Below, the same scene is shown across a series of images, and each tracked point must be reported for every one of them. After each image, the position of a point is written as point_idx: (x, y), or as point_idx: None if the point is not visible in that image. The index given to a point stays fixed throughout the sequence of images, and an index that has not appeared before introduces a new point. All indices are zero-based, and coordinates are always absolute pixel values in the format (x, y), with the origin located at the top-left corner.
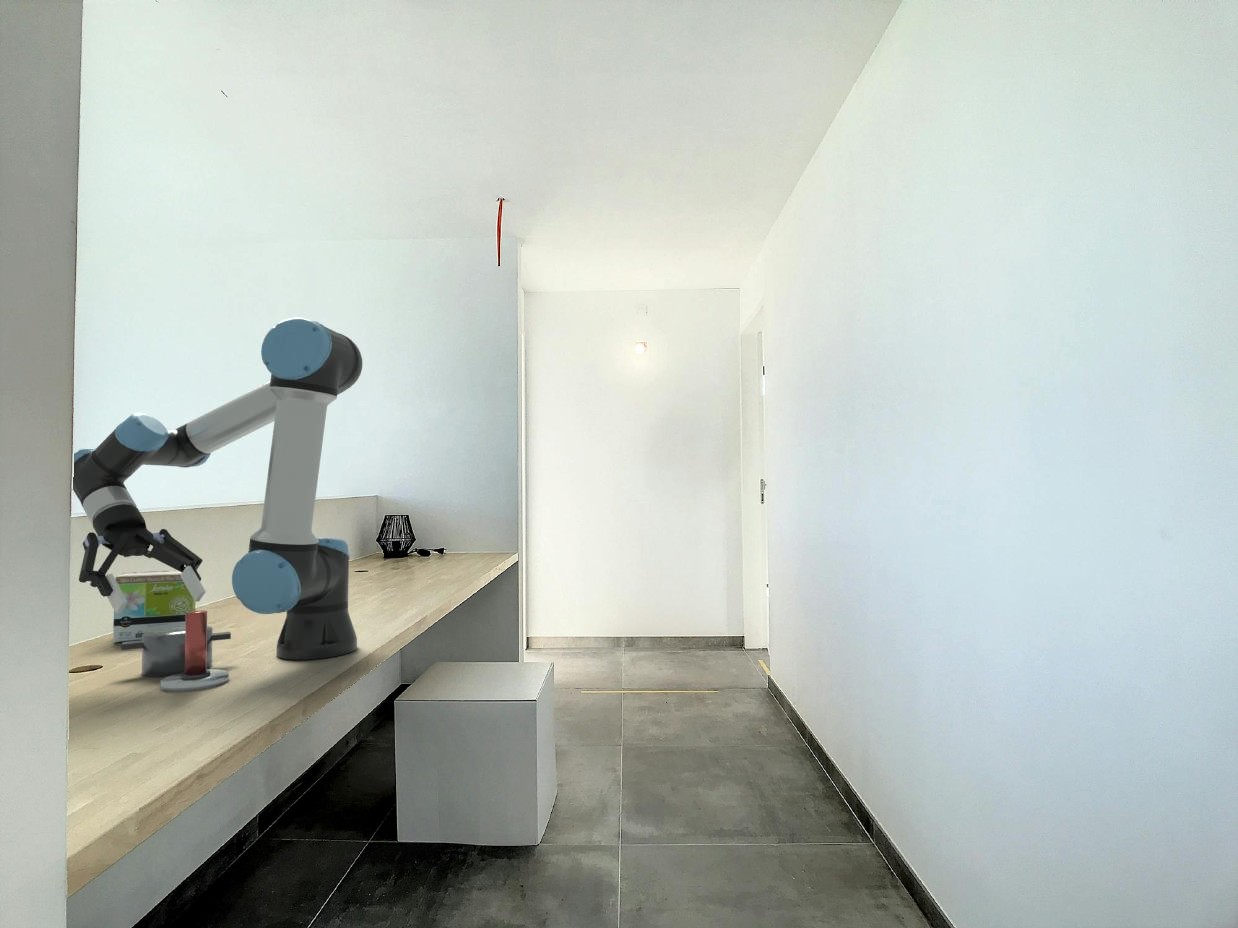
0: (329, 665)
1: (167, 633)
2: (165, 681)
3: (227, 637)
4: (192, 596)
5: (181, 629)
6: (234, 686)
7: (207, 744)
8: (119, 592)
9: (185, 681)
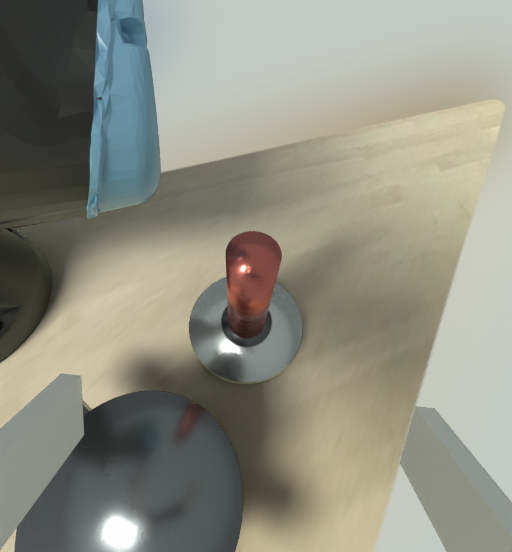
0: None
1: (177, 501)
2: (291, 346)
3: None
4: (64, 460)
5: (101, 531)
6: None
7: (392, 137)
8: (464, 455)
9: (276, 311)
